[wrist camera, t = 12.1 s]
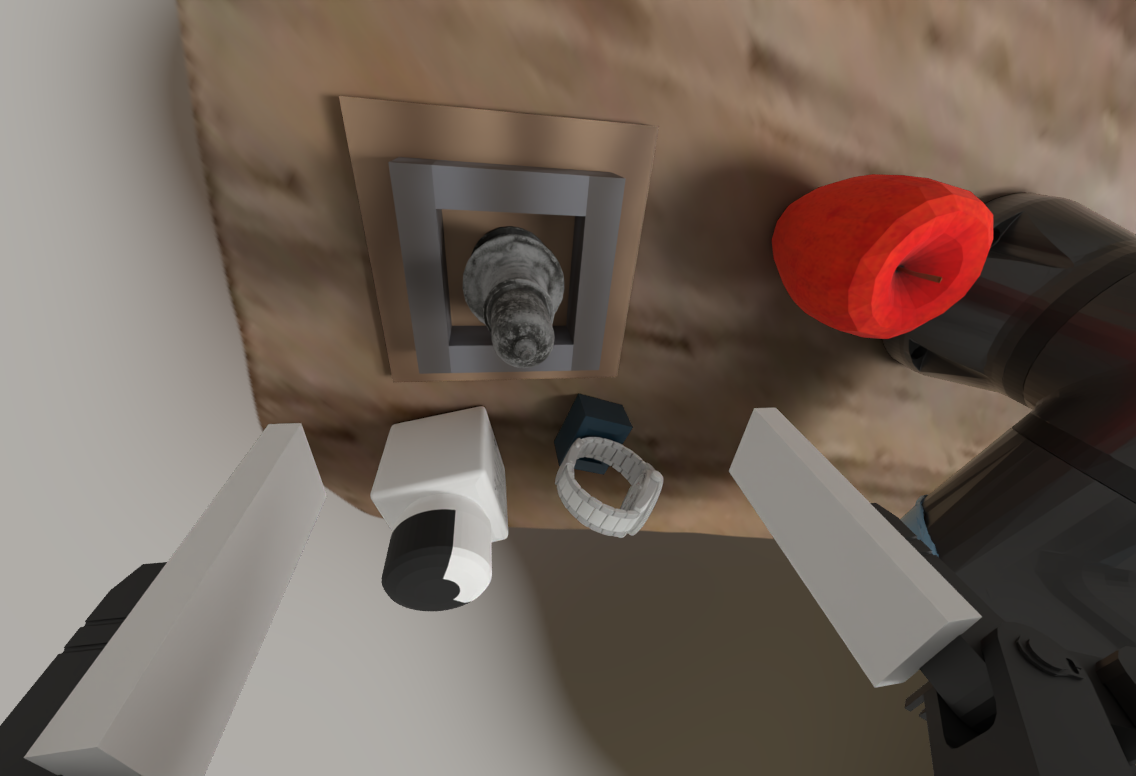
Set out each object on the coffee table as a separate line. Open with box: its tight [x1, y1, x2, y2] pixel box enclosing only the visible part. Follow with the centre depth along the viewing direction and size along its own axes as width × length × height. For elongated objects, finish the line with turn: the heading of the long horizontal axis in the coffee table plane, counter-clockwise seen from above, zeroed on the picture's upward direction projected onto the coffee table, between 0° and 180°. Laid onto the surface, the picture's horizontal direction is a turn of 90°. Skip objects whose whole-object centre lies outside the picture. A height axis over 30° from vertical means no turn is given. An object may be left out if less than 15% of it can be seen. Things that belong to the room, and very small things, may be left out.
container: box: [371, 406, 508, 611], centre depth 30 cm, size 8×8×13 cm
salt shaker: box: [462, 226, 564, 368], centre depth 21 cm, size 6×6×12 cm
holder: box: [339, 96, 659, 382], centre depth 25 cm, size 17×17×4 cm
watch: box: [554, 393, 663, 538], centre depth 32 cm, size 6×8×11 cm
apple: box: [772, 174, 993, 339], centre depth 25 cm, size 9×9×11 cm
